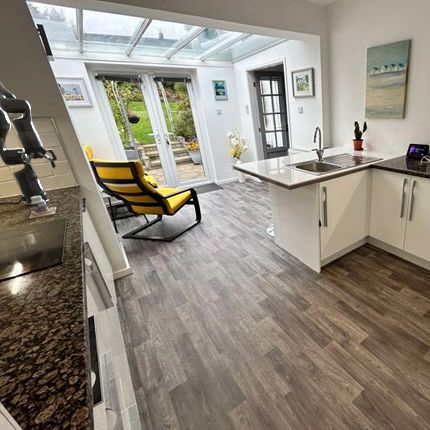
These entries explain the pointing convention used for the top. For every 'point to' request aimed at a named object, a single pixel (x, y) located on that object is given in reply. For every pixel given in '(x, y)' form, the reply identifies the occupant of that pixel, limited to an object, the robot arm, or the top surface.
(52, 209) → the drawing board
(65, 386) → the top surface
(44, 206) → the pill bottle
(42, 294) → the top surface
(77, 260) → the top surface
